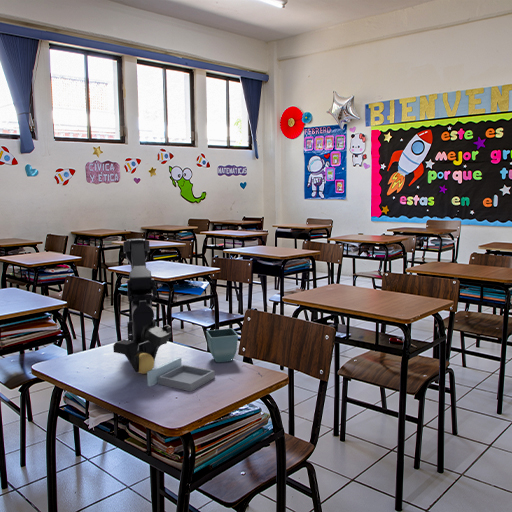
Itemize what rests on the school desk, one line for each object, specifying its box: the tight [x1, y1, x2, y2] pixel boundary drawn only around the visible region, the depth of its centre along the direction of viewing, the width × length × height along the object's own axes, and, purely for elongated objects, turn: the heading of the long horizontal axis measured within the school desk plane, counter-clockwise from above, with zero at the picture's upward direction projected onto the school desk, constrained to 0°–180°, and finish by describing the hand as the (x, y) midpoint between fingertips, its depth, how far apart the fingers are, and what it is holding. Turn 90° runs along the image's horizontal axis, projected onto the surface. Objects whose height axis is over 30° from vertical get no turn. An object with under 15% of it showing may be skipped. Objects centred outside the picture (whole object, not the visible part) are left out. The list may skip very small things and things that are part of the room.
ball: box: [138, 353, 155, 375], centre depth 147 cm, size 6×6×6 cm
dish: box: [157, 364, 216, 392], centre depth 140 cm, size 11×11×2 cm
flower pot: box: [205, 328, 239, 364], centre depth 158 cm, size 9×9×9 cm
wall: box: [146, 357, 183, 387], centre depth 143 cm, size 1×14×4 cm, turn 150°
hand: (144, 368), depth 147 cm, fingers closed on ball, 6 cm apart
